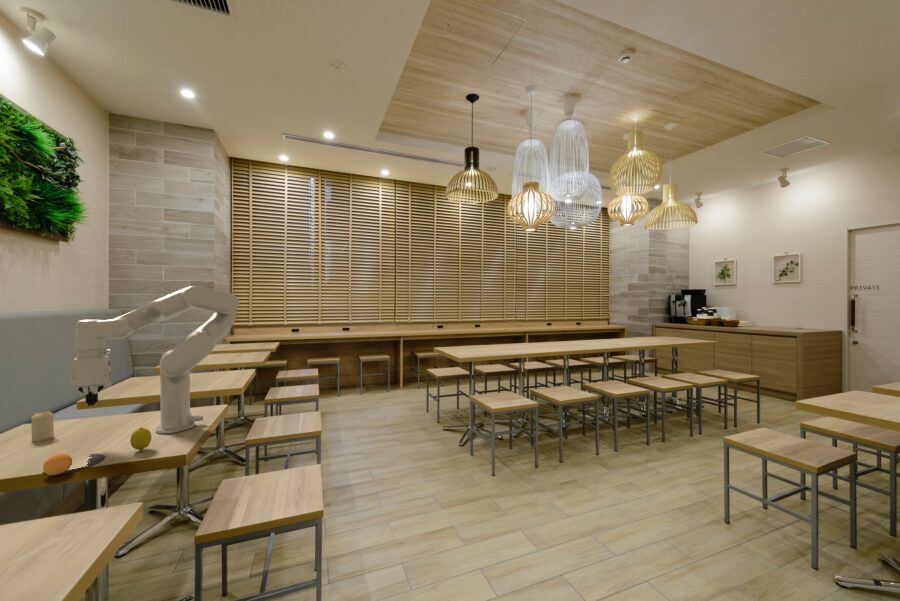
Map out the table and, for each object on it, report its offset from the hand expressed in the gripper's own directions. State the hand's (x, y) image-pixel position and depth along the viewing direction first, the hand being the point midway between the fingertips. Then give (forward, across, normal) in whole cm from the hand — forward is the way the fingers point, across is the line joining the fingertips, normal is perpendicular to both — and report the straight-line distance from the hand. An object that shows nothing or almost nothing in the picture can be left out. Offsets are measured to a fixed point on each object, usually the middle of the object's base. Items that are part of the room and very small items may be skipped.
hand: (91, 404), depth 133 cm
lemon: (+14, -16, +17) cm, 27 cm away
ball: (+11, +2, +25) cm, 28 cm away
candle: (+14, +17, -16) cm, 27 cm away
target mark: (+14, 0, +19) cm, 24 cm away
